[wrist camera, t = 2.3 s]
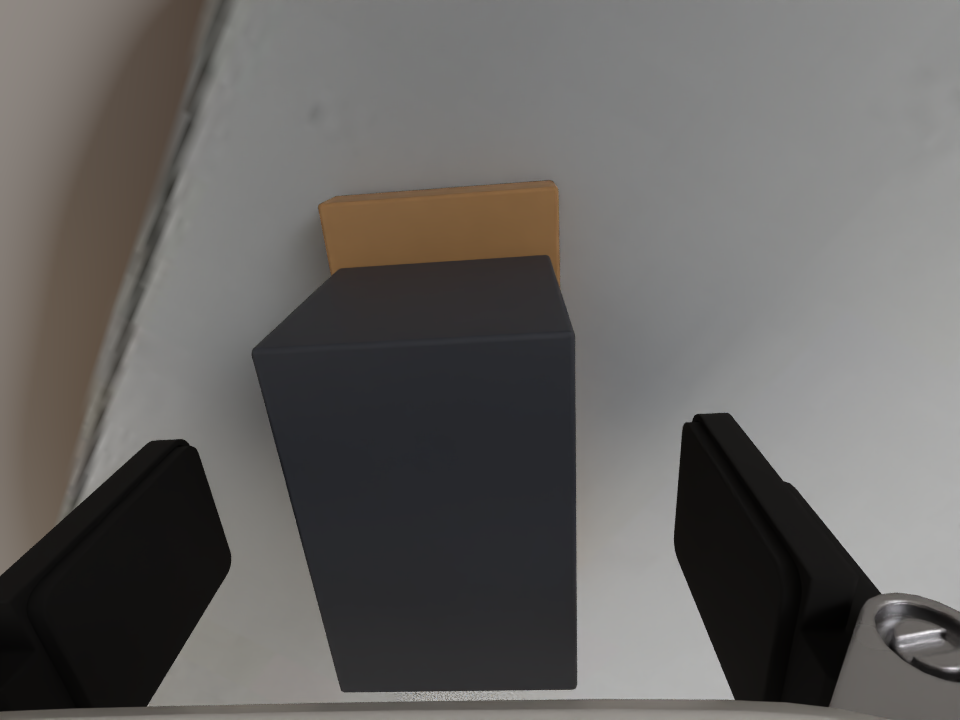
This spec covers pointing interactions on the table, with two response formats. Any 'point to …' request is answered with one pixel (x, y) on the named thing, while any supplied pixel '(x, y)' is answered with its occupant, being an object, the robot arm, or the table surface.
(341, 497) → the black and tan block
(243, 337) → the table surface
